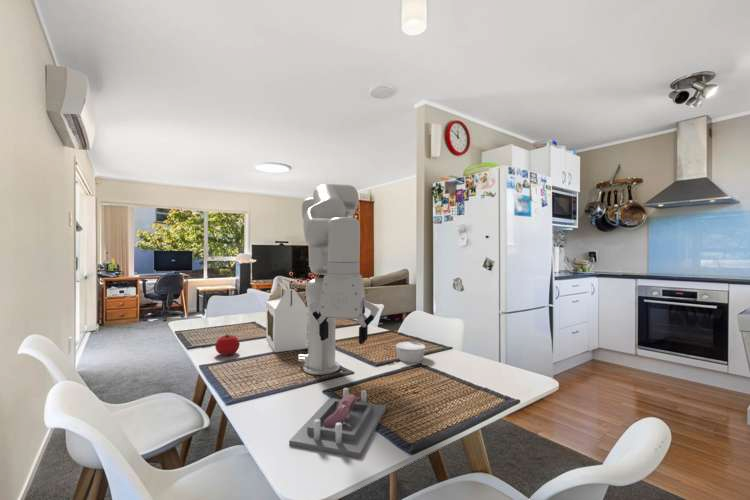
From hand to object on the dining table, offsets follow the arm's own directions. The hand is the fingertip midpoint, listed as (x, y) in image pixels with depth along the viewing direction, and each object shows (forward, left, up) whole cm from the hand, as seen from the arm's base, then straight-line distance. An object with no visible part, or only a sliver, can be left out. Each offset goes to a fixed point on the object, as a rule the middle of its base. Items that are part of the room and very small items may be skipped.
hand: (343, 340), depth 83 cm
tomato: (-63, +38, -20) cm, 76 cm away
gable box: (-49, +58, -20) cm, 79 cm away
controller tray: (0, 0, -20) cm, 20 cm away
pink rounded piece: (0, 0, -20) cm, 20 cm away
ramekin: (+7, +54, -21) cm, 58 cm away
